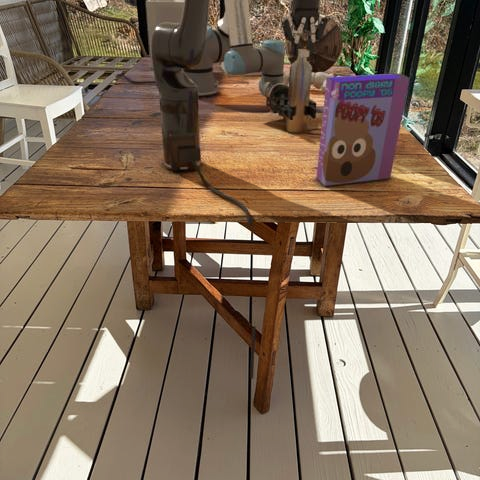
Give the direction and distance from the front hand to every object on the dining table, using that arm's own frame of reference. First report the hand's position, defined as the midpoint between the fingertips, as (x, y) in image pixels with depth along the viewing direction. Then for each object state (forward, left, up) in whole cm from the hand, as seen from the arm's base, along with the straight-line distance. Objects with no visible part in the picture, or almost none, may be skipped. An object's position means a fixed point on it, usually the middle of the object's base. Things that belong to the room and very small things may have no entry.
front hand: (301, 56), depth 137 cm
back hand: (-5, 0, -16) cm, 16 cm away
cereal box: (-39, -3, -22) cm, 44 cm away
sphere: (+75, -30, -22) cm, 84 cm away
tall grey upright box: (+100, +30, -22) cm, 107 cm away
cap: (0, 0, +1) cm, 1 cm away
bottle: (0, 0, -22) cm, 22 cm away
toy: (+45, -24, -22) cm, 55 cm away
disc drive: (+83, -3, -22) cm, 86 cm away
